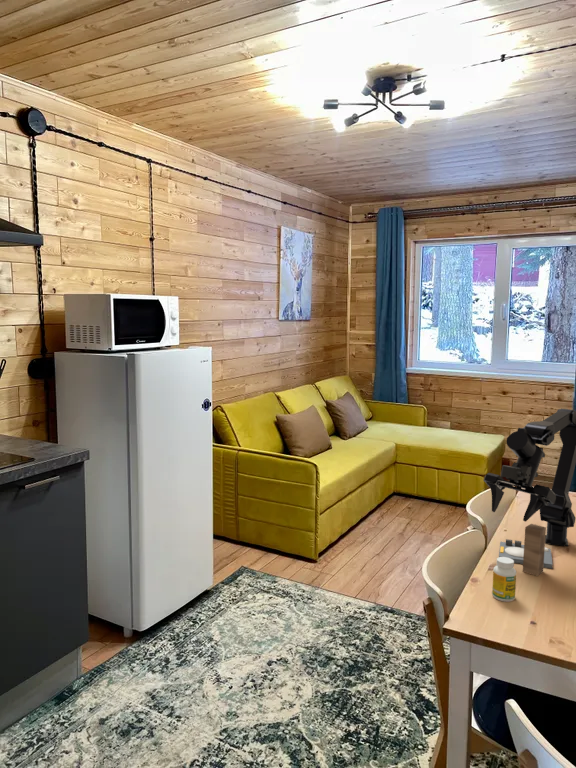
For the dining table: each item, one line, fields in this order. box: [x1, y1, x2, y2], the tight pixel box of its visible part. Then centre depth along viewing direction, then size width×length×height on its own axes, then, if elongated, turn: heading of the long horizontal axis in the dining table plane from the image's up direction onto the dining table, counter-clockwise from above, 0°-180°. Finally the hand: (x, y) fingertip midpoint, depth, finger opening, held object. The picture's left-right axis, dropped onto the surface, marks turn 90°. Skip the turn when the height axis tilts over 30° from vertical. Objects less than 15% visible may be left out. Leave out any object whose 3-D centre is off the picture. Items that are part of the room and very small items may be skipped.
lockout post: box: [522, 523, 547, 577], centre depth 157 cm, size 4×4×12 cm
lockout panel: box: [498, 538, 553, 570], centre depth 167 cm, size 12×14×3 cm
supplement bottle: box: [491, 556, 517, 603], centre depth 142 cm, size 5×5×10 cm
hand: (508, 516), depth 157 cm, fingers open, 9 cm apart
